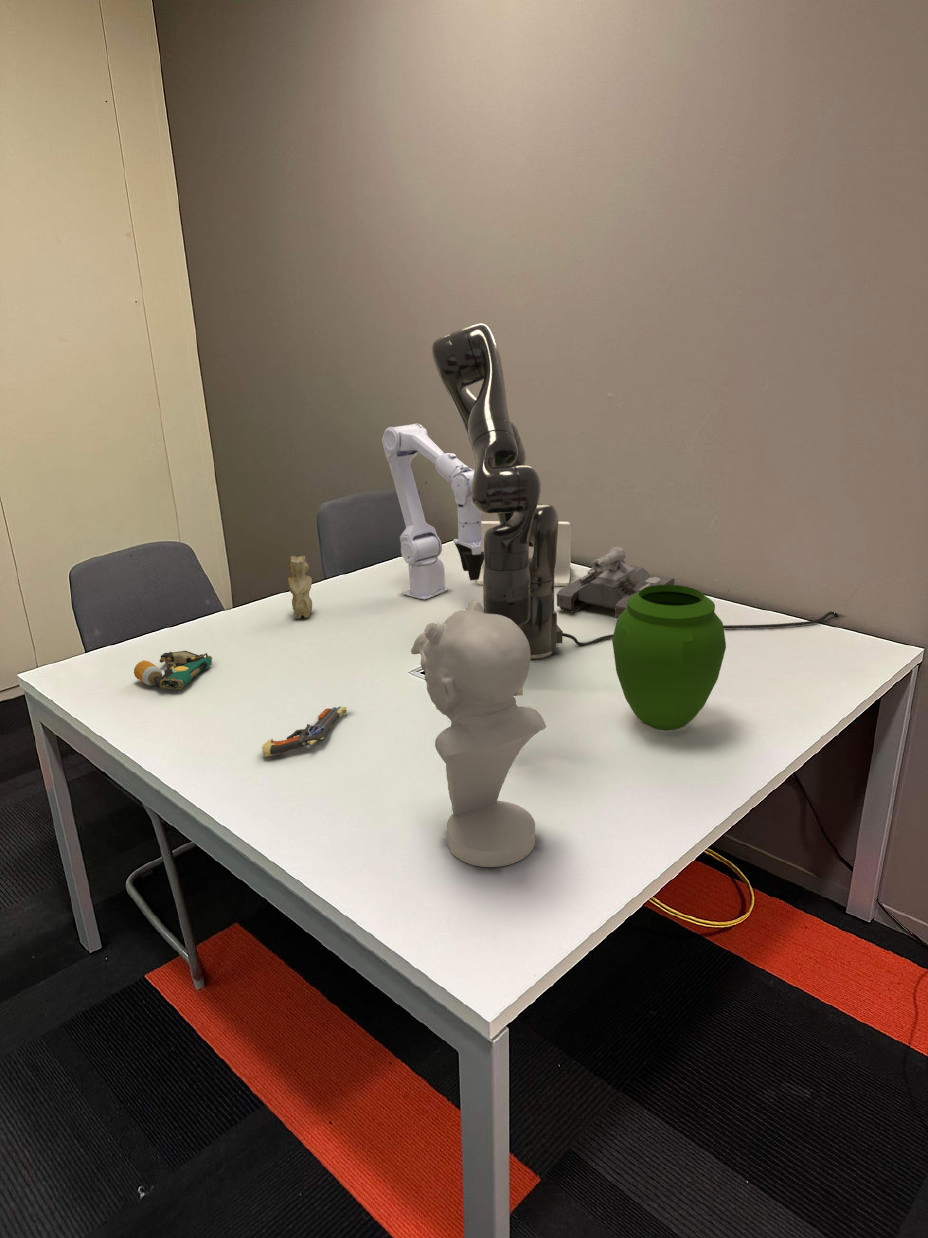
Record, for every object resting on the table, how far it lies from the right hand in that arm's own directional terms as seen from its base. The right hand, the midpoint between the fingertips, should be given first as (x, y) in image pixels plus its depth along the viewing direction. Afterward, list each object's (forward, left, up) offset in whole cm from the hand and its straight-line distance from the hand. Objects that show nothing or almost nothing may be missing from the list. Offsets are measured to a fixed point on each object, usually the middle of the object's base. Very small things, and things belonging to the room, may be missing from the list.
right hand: (507, 688), depth 142 cm
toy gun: (+34, -15, -12) cm, 39 cm away
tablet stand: (-29, -95, -12) cm, 100 cm away
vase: (-30, -4, -12) cm, 33 cm away
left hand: (-9, -72, -3) cm, 72 cm away
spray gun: (+60, -49, -12) cm, 78 cm away
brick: (0, 0, 0) cm, 1 cm away
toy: (-45, -66, -12) cm, 80 cm away
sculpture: (+33, -79, -12) cm, 87 cm away
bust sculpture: (+11, +21, -12) cm, 27 cm away
